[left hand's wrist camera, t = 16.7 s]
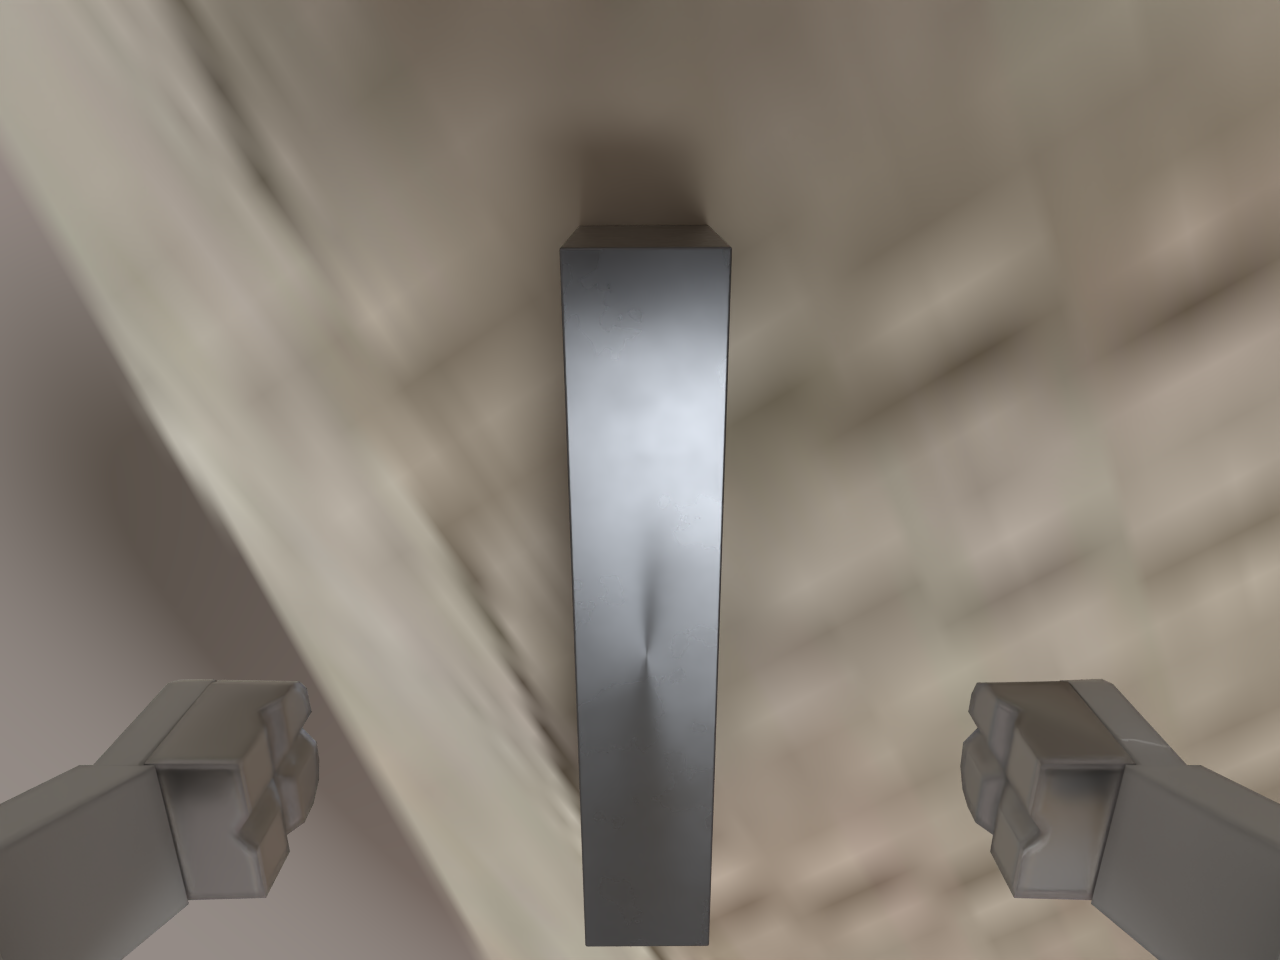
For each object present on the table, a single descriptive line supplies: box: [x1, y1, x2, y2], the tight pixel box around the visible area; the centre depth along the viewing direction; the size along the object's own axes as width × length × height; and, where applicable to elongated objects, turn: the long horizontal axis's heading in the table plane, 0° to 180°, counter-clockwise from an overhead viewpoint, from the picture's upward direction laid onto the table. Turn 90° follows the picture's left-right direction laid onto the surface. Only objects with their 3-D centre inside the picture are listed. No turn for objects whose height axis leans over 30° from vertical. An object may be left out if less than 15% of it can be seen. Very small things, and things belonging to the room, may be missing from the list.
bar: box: [560, 225, 732, 946], centre depth 31 cm, size 26×5×8 cm, turn 0°
